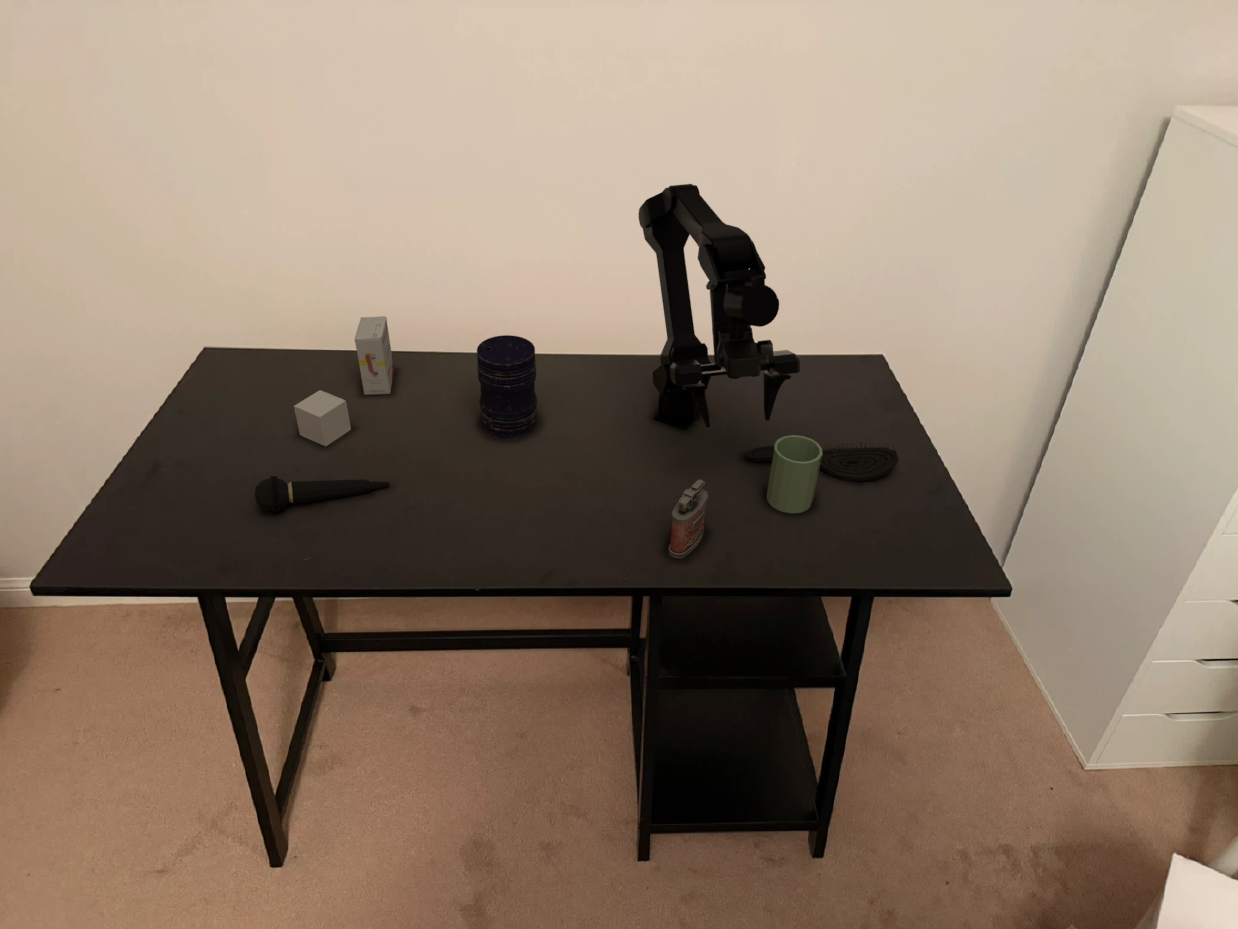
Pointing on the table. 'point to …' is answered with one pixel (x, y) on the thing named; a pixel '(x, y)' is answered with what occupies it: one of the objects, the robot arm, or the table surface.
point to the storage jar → (507, 386)
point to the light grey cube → (322, 417)
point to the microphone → (308, 491)
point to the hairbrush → (844, 461)
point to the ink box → (374, 355)
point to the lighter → (688, 521)
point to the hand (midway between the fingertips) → (737, 423)
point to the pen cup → (793, 473)
